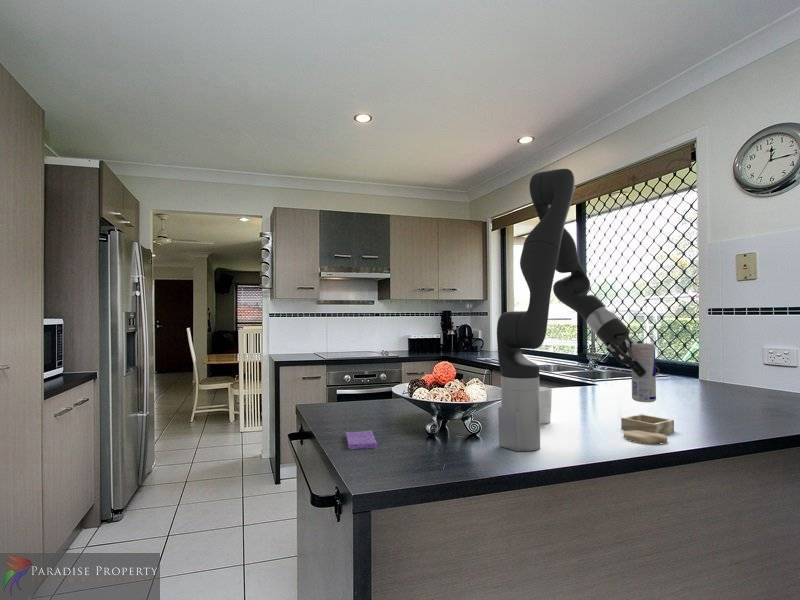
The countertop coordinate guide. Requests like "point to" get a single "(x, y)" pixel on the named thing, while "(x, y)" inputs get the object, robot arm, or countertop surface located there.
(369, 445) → the sponges
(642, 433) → the disc
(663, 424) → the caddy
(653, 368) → the beverage can
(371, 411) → the countertop surface
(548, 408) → the white cup
